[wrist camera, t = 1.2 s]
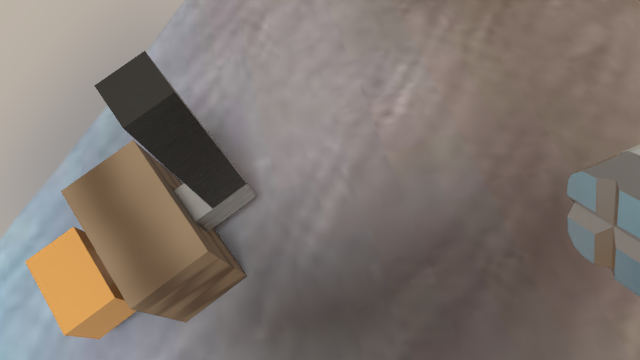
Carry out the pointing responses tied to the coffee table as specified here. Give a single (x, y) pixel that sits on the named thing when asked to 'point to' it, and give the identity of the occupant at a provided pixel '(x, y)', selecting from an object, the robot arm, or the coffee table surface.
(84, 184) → the bearing block
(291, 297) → the coffee table surface
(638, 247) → the robot arm
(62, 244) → the block
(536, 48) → the coffee table surface
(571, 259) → the coffee table surface
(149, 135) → the grey l-shaped piece
